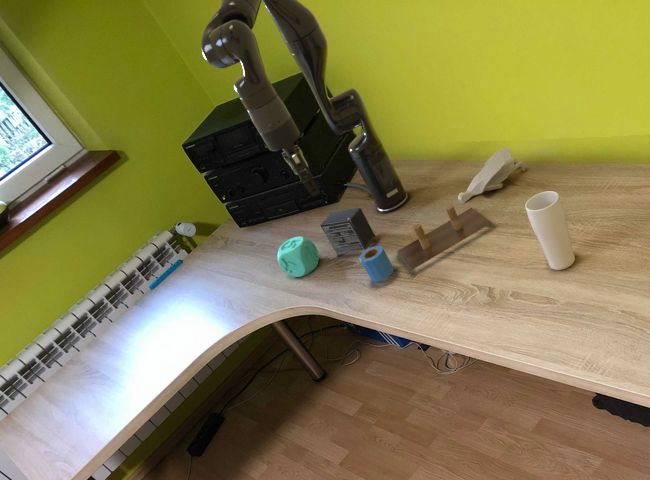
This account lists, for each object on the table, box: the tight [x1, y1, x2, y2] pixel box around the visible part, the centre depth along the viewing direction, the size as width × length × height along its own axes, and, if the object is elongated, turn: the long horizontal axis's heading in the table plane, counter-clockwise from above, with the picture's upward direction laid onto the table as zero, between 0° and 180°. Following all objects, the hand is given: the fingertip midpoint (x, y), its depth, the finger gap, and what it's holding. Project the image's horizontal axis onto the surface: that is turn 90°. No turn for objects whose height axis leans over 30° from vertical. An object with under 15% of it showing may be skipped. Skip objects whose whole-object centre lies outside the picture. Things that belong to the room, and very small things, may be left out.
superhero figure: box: [457, 147, 526, 204], centre depth 164 cm, size 10×9×20 cm
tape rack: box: [396, 204, 492, 271], centre depth 154 cm, size 12×22×8 cm, turn 111°
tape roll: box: [359, 245, 395, 283], centre depth 152 cm, size 6×6×8 cm
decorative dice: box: [276, 236, 320, 278], centre depth 174 cm, size 8×8×8 cm
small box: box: [319, 207, 376, 257], centre depth 169 cm, size 11×6×10 cm, turn 65°
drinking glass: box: [524, 190, 576, 271], centre depth 126 cm, size 7×7×15 cm
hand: (312, 188), depth 143 cm, fingers open, 8 cm apart
